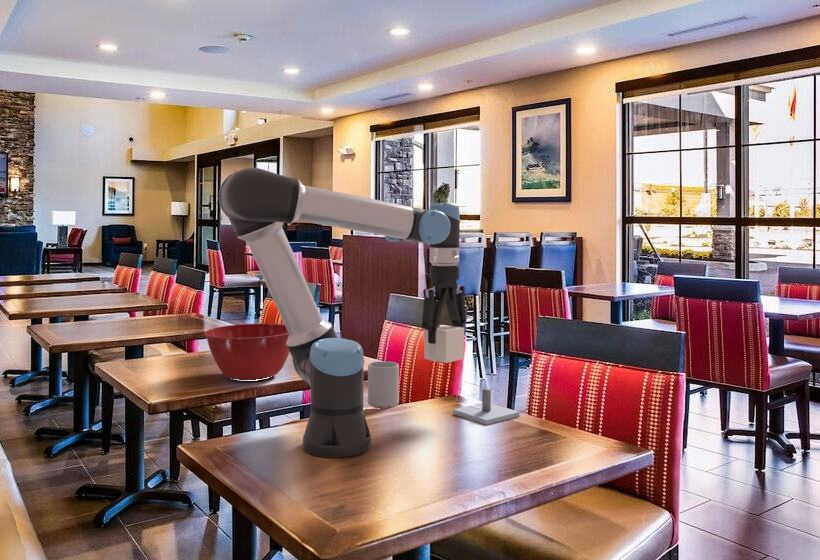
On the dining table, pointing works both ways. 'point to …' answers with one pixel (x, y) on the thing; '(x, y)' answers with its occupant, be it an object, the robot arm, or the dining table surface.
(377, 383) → the mug
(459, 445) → the dining table surface
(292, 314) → the robot arm
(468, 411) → the plate
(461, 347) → the cube with square hole
